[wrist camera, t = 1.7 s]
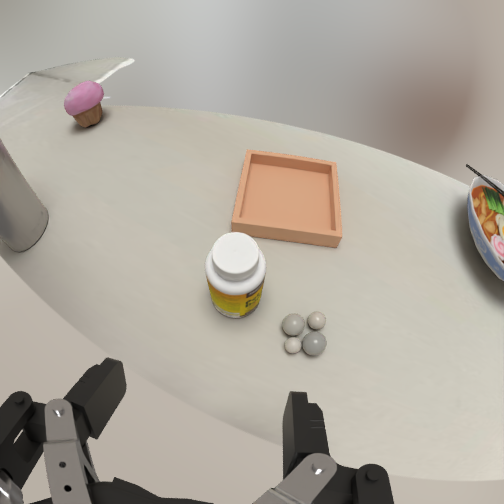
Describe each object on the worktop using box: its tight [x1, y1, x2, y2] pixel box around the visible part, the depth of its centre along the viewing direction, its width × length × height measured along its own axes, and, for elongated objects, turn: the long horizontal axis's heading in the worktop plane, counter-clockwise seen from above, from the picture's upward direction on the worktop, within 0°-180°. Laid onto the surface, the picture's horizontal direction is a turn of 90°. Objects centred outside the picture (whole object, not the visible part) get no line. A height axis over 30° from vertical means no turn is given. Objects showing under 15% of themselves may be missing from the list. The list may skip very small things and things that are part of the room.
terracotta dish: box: [231, 150, 342, 248], centre depth 39 cm, size 14×14×3 cm
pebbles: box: [282, 312, 327, 356], centre depth 29 cm, size 5×5×3 cm
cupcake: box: [64, 81, 104, 127], centre depth 45 cm, size 9×9×10 cm
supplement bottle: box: [205, 232, 266, 318], centre depth 28 cm, size 6×6×10 cm
